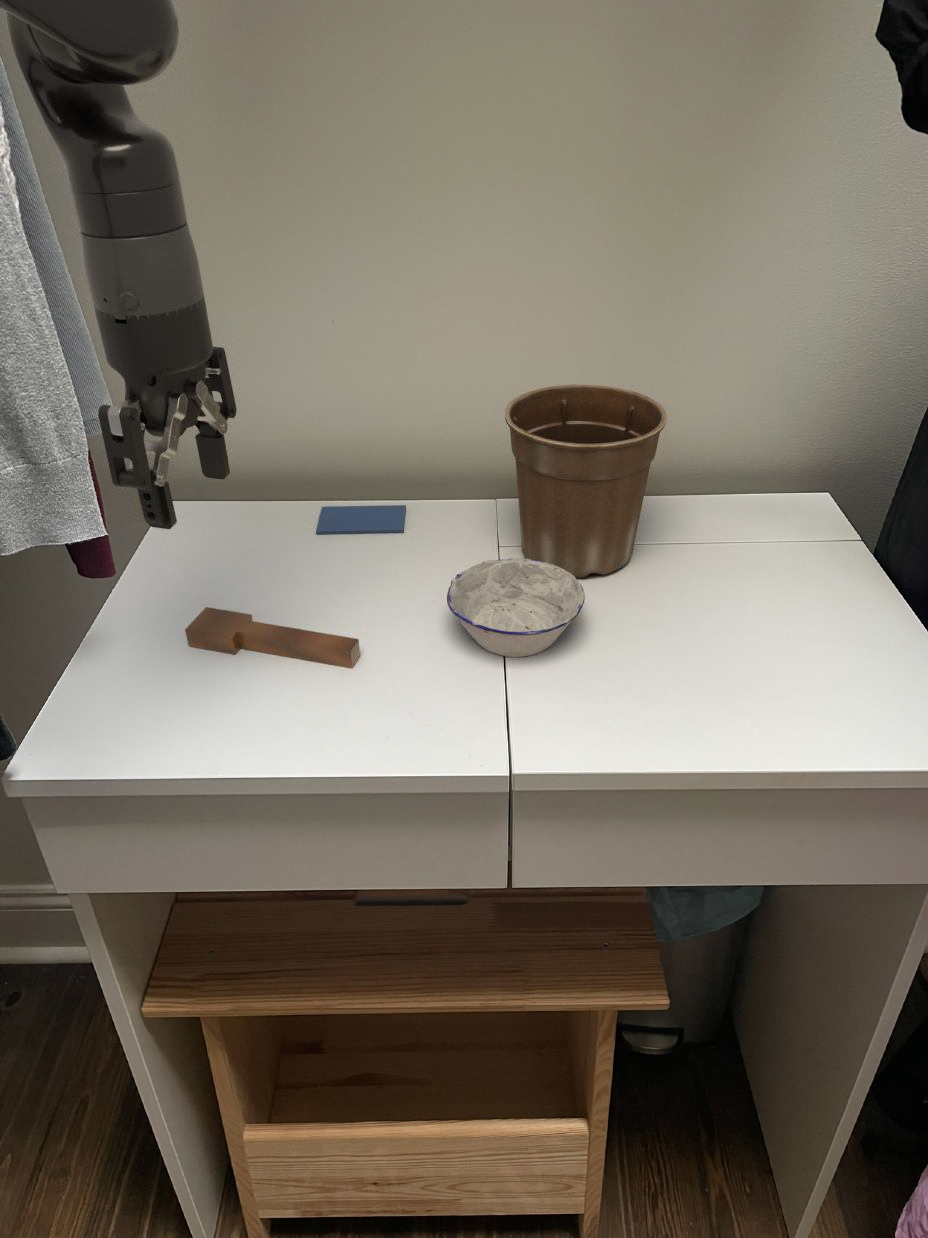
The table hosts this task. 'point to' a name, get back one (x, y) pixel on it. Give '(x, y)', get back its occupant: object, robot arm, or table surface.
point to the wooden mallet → (268, 638)
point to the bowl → (515, 604)
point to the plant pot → (582, 472)
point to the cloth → (361, 519)
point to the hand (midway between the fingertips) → (190, 500)
